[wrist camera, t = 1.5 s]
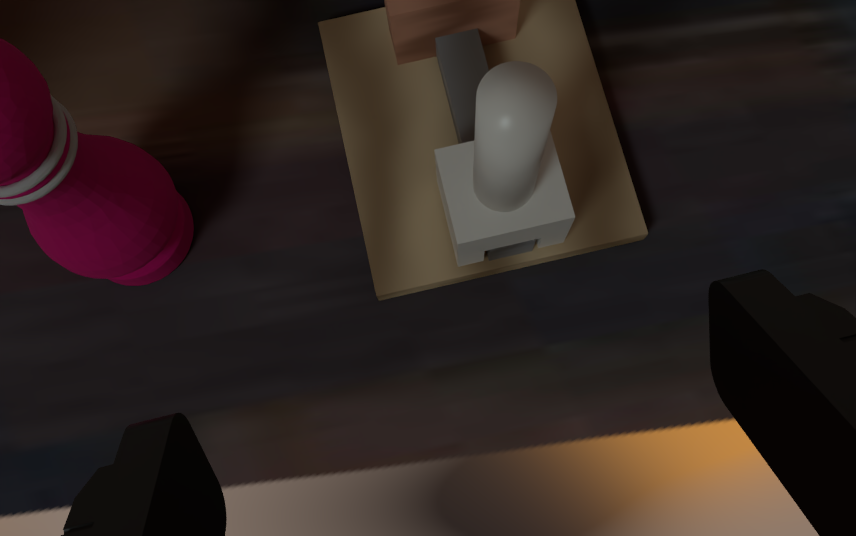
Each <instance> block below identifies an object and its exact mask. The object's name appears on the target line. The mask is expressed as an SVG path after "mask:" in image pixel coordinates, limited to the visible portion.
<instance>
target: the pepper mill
mask: <svg viewBox="0 0 856 536" xmlns="http://www.w3.org/2000/svg"><path fill="white" fill-rule="evenodd" d="M0 205H17V206H19V207H20V208H21V209H22V210H23V213H24V215H25V218H26V221H27V224H28V227H29V230H30V233H31V234H32V236H33V237H34V239H35V240H36V242H37V243H38V244H39V246H40V247H41V248H42V250H43V251H44V252H45V253H46V254H47V255H48V256H49V257H50V258H51V259H52V260H54V261H55V262H57V263H58V264H60V265H61V266H63V267H64V268H66V269H68V270H69V271H71V272H73V273H76V274H79V275H81V276H86V277H91V278H101V279H106V278H107V279H109V280H111V281H113V282H115V283H118V284H122V285H128V286H140V285H145V284H150V283H152V282H155V281H158V280H160V279H162V278H164V277H165V276H167V275H169V274H170V273H171V272H172V271H173V270H175V269H176V268H177V267H178V266H179V264H180V263H181V262H182V261H183V259H184V258H185V256H186V255H187V253H188V251H189V249H190V246H191V242H192V239H193V232H194V224H193V217H192V214H191V211H190V208H189V206H188V204H187V202H186V201H185V200H184V198H183V197H182V196H181V195H180V194H179V193H178V192H177V191H176V189H175V186H174V184H173V181H172V179H171V177H170V175H169V173H168V172H167V171H166V169H165V168H164V167H163V166H162V165H161V163H160V162H159V161H157V160H156V159H155V158H154V157H152V156H151V155H150V154H148V153H147V152H146V151H144V150H143V149H141V148H139V147H138V146H136V145H134V144H132V143H129V142H126V141H123V140H120V139H117V138H114V137H110V136H100V135H86V134H82V133H79V132H77V129H76V125H75V123H74V120H73V118H72V117H71V115H70V113H69V112H68V111H67V110H66V108H65V107H64V106H63V105H62V104H61V103H59V102H58V101H57V100H55V99H54V98H53V96H51V95H50V92H49V88H48V85H47V82H46V81H45V79H44V78H43V76H42V75H41V73H40V72H39V70H38V69H37V67H36V66H35V64H34V63H33V62H32V61H31V60H30V59H29V58H28V57H26V56H25V55H24V54H23V53H22V52H21V51H20V50H19V49H17V48H16V47H15V46H13V45H12V44H10V43H8V42H7V41H5V40H3V39H1V38H0Z"/></svg>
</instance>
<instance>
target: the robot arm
mask: <svg viewBox="0 0 856 536" xmlns="http://www.w3.org/2000/svg"><path fill="white" fill-rule="evenodd" d="M709 334H710V365H711V371H712V376H713V380H714V383H715V386H716V388H717V391H718V393H719V395H720V397H721V399H722V401H723V403H724V404H725V406H726V407H727V408H728V410H729V411H730V413H731V414H732V415H733V417H734V418H735V419H736V421H737V422H738V424H739V425H740V426H741V428H742V429H743V430H744V432H745V433H746V435H747V436H748V437H749V439H750V440H751V442H752V443H753V444H754V446H755V447H756V449H757V450H758V451H759V453H760V454H761V455H762V457H763V458H764V459H765V461H766V462H767V464H768V465H769V466H770V468H771V469H772V471H773V472H774V473H775V475H776V476H777V477H778V479H779V480H780V482H781V483H782V484H783V486H784V487H785V489H786V490H787V491H788V493H789V494H790V495H791V497H792V498H793V500H794V501H795V502H796V504H797V505H798V507H799V508H800V509H801V511H802V512H803V514H804V515H805V516H806V518H807V519H808V520H809V522H810V523H811V525H812V526H813V527H814V529H815V530H816V531H817V533H818V534H819V536H856V318H855V317H854V316H853V315H852V314H850V313H849V312H848V311H847V310H846V309H845V308H842V307H840V306H838V305H835V304H833V303H831V302H829V301H826V300H824V299H822V298H820V297H817V296H815V295H813V294H810V293H808V294H804V295H800V296H796V297H795V296H794V295H793V294H792V293H791V292H790V291H789V290H788V289H787V288H786V287H785V286H784V285H783V284H781V283H780V282H779V281H778V280H777V279H776V278H775V277H774V276H773V275H772V274H771V273H770V272H768V271H766V270H763V269H762V270H758V271H754V272H750V273H746V274H742V275H738V276H734V277H730V278H725V279H721V280H717V281H713V282H712V283H711V285H710V288H709ZM63 530H64V535H61V536H225V531H226V507H225V501H224V496H223V493H222V489H221V486H220V484H219V482H218V480H217V478H216V476H215V474H214V472H213V470H212V467H211V465H210V463H209V461H208V459H207V457H206V455H205V453H204V451H203V449H202V447H201V445H200V443H199V441H198V439H197V437H196V435H195V433H194V431H193V429H192V427H191V425H190V423H189V421H188V420H187V418H186V417H185V416H184V415H183V414H181V413H175V414H171V415H167V416H163V417H159V418H155V419H151V420H147V421H143V422H139V423H135V424H131V425H129V426H128V427H127V428H126V429H125V432H124V434H123V437H122V440H121V443H120V446H119V449H118V452H117V455H116V458H115V461H114V464H113V465H109V466H105V467H101V468H98V470H97V471H96V472H95V474H94V475H93V476H92V477H91V479H90V480H89V481H88V482H87V484H86V485H85V486H84V487H83V489H82V490H81V491H80V492H79V494H78V495H77V496H76V497H75V499H74V502H73V505H72V507H71V510H70V513H69V515H68V518H67V521H66V524H65V526H64V529H63Z"/></svg>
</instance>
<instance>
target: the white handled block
mask: <svg viewBox="0 0 856 536" xmlns="http://www.w3.org/2000/svg"><path fill="white" fill-rule="evenodd" d="M556 105H557V91H556V88H555V85H554V83H553V81H552V79H551V78H550V77H549V75H548V74H547V73H546V72H545V71H544V70H542V69H541V68H539V67H538V66H536V65H533V64H531V63H528V62H523V61H510V62H505V63H502V64H500V65H497V66H495V67H494V68H492V69H491V70H489V71H488V72H487V73H486V74H485V75H484V77H483V78H482V80H481V81H480V83H479V86H478V88H477V93H476V113H475V139H474V141H470V142H465V143H461V144H457V145H452V146H448V147H444V148H439V149H435V150H434V153H435V164H436V175H437V183H438V187H439V191H440V195H441V199H442V203H443V207H444V212H445V216H446V220H447V224H448V228H449V232H450V236H451V240H452V244H453V248H454V252H455V257H456V261H457V265H458V267H459V266H464V265H468V264H472V263H477V262H481V261H484V252H485V251H487V250H491V249H495V248H500V247H504V246H508V245H513V244H517V243H521V242H526V241H530V240H534V239H536V243H537V246H538V248H542V247H546V246H550V245H555V244H559V243H563V242H564V240H565V238H566V236H567V234H568V232H569V230H570V228H571V225H572V223H573V221H574V219H575V214H574V210H573V207H572V204H571V200H570V197H569V193H568V190H567V186H566V183H565V179H564V176H563V173H562V169H561V166H560V162H559V159H558V155H557V152H556V148H555V145H554V142H553V138H552V135H551V131H550V128H551V124H552V121H553V117H554V113H555V109H556Z"/></svg>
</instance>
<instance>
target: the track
mask: <svg viewBox="0 0 856 536" xmlns="http://www.w3.org/2000/svg"><path fill="white" fill-rule="evenodd" d="M384 2H385V7H383V8H379V9H375V10H370V11H366V12H361V13H357V14H352V15H348V16H344V17H339V18H335V19H330V20H326V21H321V22H318V25H319V30H320V34H321V39H322V44H323V48H324V53H325V58H326V62H327V67H328V72H329V76H330V81H331V86H332V90H333V95H334V100H335V104H336V109H337V114H338V118H339V123H340V128H341V132H342V137H343V142H344V146H345V151H346V156H347V160H348V165H349V170H350V174H351V179H352V184H353V188H354V193H355V198H356V202H357V207H358V212H359V216H360V221H361V226H362V230H363V235H364V240H365V244H366V249H367V254H368V258H369V263H370V268H371V272H372V277H373V282H374V286H375V291H376V296H377V298H378V300H379V301H380V300H384V299H389V298H393V297H397V296H402V295H406V294H410V293H415V292H419V291H423V290H428V289H432V288H436V287H441V286H445V285H449V284H454V283H458V282H462V281H467V280H471V279H475V278H480V277H484V276H488V275H493V274H497V273H501V272H506V271H510V270H514V269H519V268H523V267H527V266H532V265H536V264H540V263H544V262H549V261H553V260H557V259H562V258H566V257H570V256H575V255H579V254H583V253H588V252H592V251H596V250H601V249H605V248H609V247H614V246H618V245H622V244H627V243H631V242H635V241H640V240H643V239H644V238H645V237H646V236H647V234H648V231H647V228H646V225H645V221H644V218H643V215H642V212H641V209H640V205H639V202H638V199H637V196H636V193H635V190H634V186H633V183H632V180H631V177H630V174H629V170H628V167H627V164H626V161H625V158H624V154H623V151H622V148H621V145H620V142H619V139H618V135H617V132H616V129H615V126H614V123H613V119H612V116H611V113H610V110H609V107H608V103H607V100H606V97H605V94H604V91H603V88H602V84H601V81H600V78H599V75H598V72H597V68H596V65H595V62H594V59H593V56H592V52H591V49H590V46H589V43H588V40H587V37H586V33H585V30H584V27H583V24H582V21H581V17H580V14H579V11H578V8H577V5H576V1H575V0H384ZM510 61H523V62H528V63H531V64H533V65H536V66H538V67H539V68H541V69H542V70H544V71H545V72H546V73H547V74H548V75H549V77H550V78H551V79H552V81H553V83H554V85H555V88H556V91H557V105H556V109H555V113H554V117H553V121H552V124H551V128H550V131H551V135H552V138H553V142H554V145H555V148H556V152H557V155H558V159H559V162H560V166H561V169H562V173H563V176H564V179H565V183H566V186H567V190H568V193H569V197H570V200H571V204H572V207H573V210H574V214H575V219H574V221H573V223H572V225H571V228H570V230H569V232H568V234H567V236H566V238H565V240H564V242H563V243H559V244H555V245H550V246H546V247H542V248H538V246H537V243H536V239H534V240H530V241H526V242H521V243H517V244H513V245H508V246H504V247H500V248H495V249H491V250H487V251H485V252H484V261H481V262H477V263H472V264H468V265H464V266H459V267H458V265H457V261H456V257H455V252H454V248H453V244H452V240H451V236H450V232H449V228H448V224H447V220H446V216H445V212H444V207H443V203H442V199H441V195H440V191H439V187H438V183H437V175H436V164H435V153H434V150H435V149H439V148H444V147H448V146H452V145H457V144H461V143H465V142H470V141H474V139H475V113H476V93H477V88H478V86H479V83H480V81H481V80H482V78H483V77H484V75H485V74H486V73H487V72H488V71H489V70H491V69H492V68H494V67H495V66H497V65H500V64H502V63H505V62H510Z"/></svg>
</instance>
